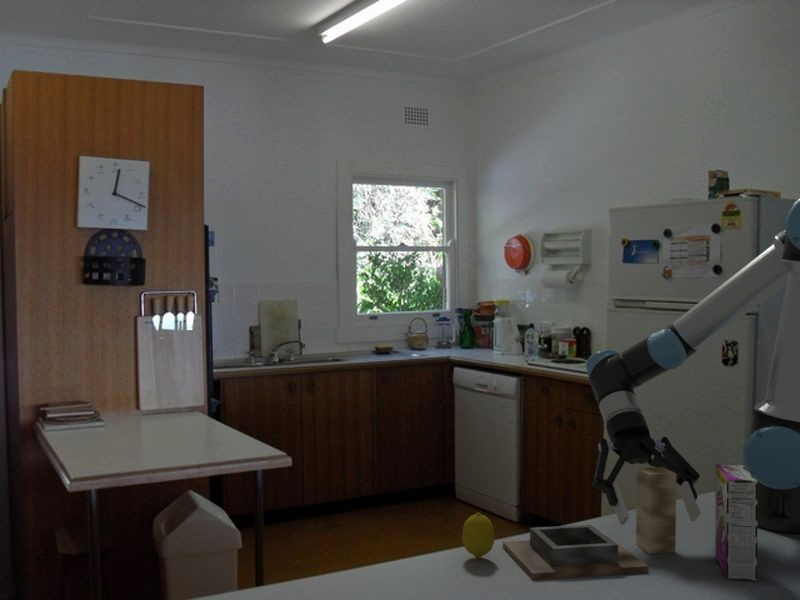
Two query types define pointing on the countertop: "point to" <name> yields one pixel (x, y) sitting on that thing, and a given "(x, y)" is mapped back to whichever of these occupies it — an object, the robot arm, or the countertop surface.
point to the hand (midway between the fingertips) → (660, 519)
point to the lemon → (478, 535)
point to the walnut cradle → (572, 553)
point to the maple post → (656, 510)
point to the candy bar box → (736, 521)
